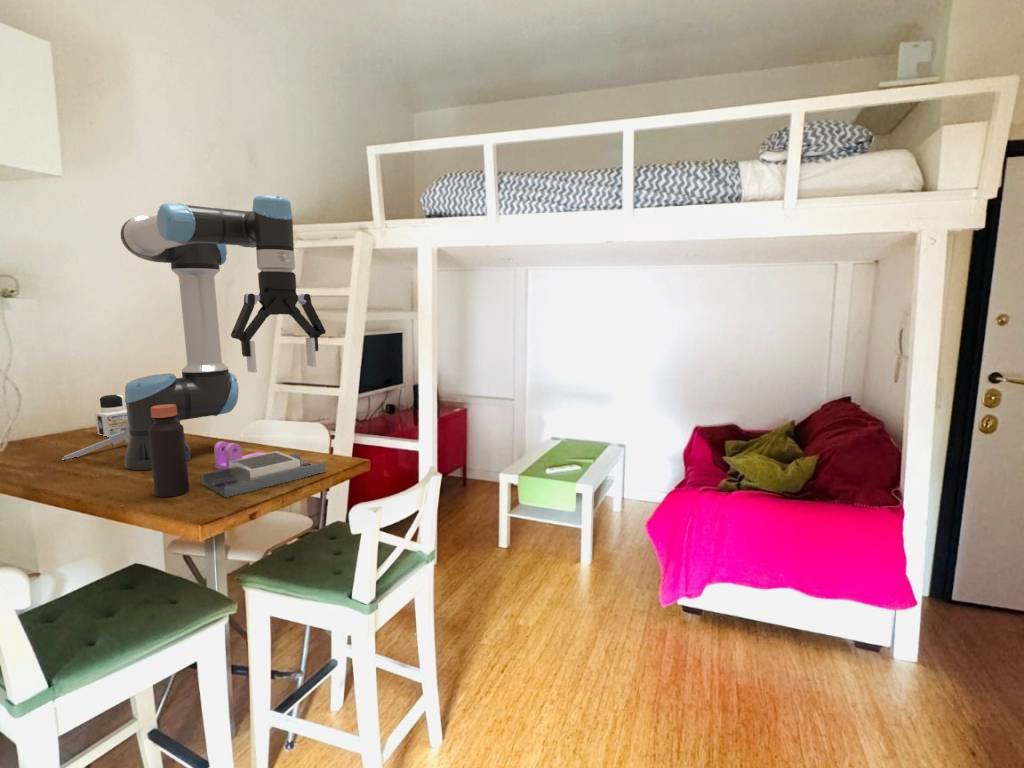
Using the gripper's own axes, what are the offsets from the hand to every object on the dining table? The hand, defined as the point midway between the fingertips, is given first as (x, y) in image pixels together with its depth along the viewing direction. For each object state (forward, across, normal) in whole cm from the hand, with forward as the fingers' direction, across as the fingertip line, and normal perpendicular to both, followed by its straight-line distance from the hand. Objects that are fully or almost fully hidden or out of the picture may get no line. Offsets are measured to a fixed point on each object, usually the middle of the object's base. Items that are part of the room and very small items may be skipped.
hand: (283, 369), depth 124 cm
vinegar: (+28, -18, +19) cm, 39 cm away
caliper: (+29, -20, +74) cm, 82 cm away
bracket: (+28, +2, +30) cm, 41 cm away
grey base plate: (+28, 0, +13) cm, 31 cm away
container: (+28, -11, +97) cm, 102 cm away
